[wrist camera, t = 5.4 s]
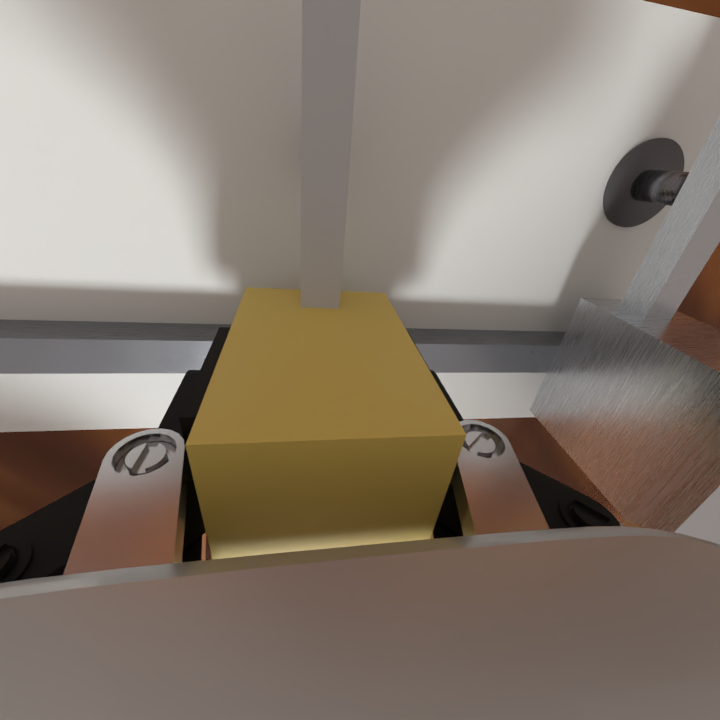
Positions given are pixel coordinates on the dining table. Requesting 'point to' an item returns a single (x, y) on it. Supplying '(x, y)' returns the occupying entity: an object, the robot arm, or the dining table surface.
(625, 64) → the hole plate
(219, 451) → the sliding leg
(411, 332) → the rail
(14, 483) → the dining table surface
